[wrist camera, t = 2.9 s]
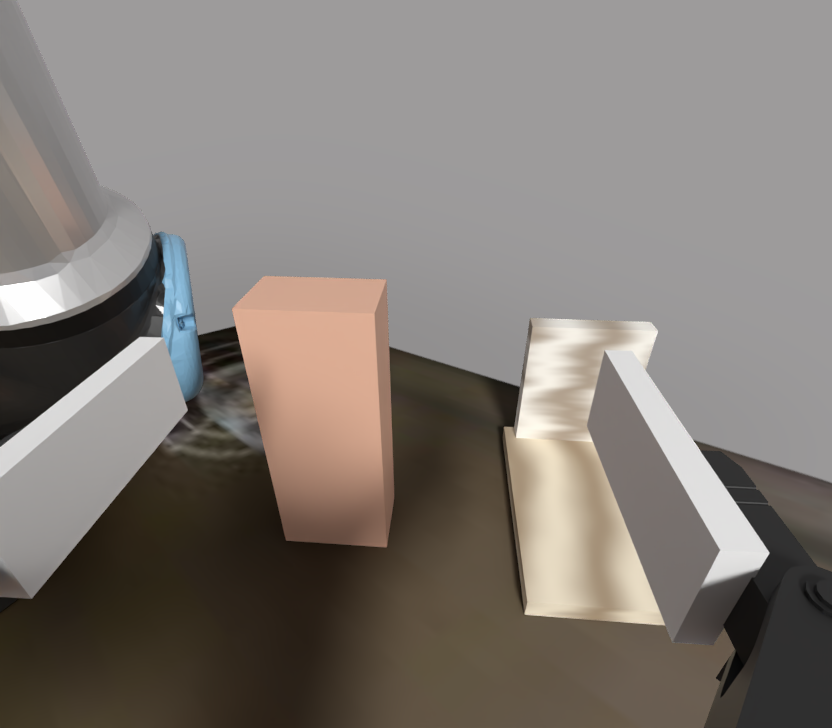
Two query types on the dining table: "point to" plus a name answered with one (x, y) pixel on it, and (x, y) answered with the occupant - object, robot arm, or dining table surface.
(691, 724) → the dining table surface
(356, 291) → the salmon pink rectangular block
